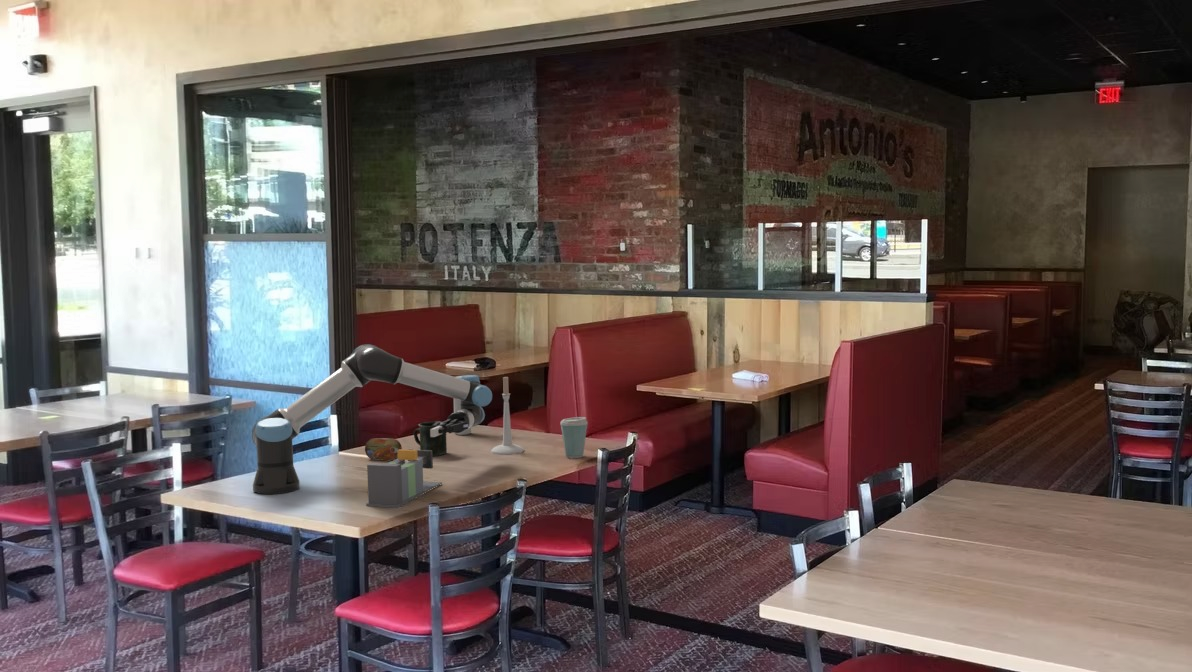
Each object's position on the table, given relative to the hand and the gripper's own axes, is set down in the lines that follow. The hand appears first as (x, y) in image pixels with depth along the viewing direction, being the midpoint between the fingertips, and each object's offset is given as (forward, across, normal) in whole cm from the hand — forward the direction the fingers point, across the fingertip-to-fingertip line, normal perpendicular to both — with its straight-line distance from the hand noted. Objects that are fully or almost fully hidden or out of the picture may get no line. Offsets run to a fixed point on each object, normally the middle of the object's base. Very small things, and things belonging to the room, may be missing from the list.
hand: (432, 433), depth 353 cm
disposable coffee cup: (-49, -35, -18) cm, 63 cm away
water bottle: (-86, +26, -17) cm, 92 cm away
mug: (-43, +22, -17) cm, 52 cm away
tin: (-29, +35, -17) cm, 49 cm away
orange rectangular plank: (+19, 0, -5) cm, 19 cm away
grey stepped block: (+21, 0, -17) cm, 27 cm away
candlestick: (-54, -6, -17) cm, 57 cm away
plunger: (+15, 0, -11) cm, 18 cm away
